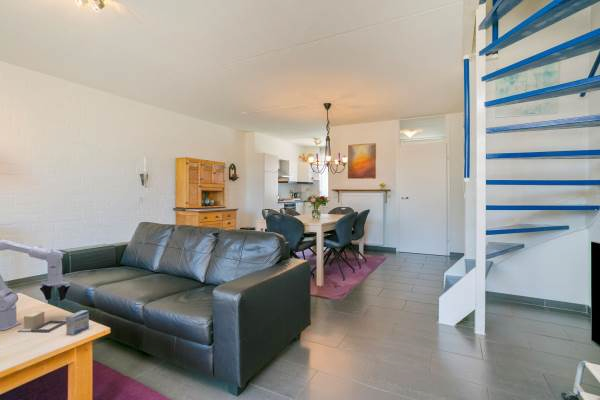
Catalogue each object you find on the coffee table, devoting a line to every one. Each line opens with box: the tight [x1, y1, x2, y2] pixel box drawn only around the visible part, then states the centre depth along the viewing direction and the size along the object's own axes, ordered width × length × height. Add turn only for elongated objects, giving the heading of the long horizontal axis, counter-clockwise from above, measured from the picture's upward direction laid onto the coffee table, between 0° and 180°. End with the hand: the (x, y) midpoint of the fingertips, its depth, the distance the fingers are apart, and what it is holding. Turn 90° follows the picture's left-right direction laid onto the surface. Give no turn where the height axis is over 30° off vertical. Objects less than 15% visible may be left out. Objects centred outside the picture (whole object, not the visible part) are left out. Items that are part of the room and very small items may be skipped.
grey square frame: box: [30, 319, 66, 333], centre depth 143 cm, size 9×10×1 cm
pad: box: [17, 321, 47, 333], centre depth 143 cm, size 6×10×1 cm, turn 178°
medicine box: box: [65, 309, 90, 336], centre depth 139 cm, size 8×4×9 cm, turn 168°
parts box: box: [23, 311, 46, 329], centre depth 143 cm, size 4×6×6 cm
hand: (55, 299), depth 152 cm, fingers open, 7 cm apart
